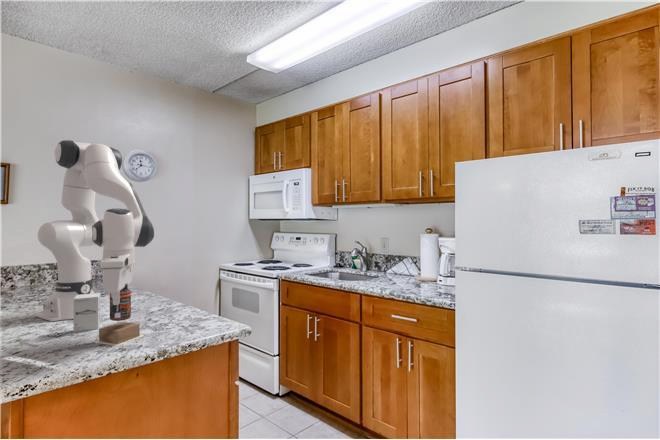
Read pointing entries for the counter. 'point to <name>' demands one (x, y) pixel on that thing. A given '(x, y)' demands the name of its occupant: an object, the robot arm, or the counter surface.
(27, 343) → the counter surface
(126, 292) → the supplement bottle
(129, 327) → the block
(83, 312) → the supplement box
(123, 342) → the build board
